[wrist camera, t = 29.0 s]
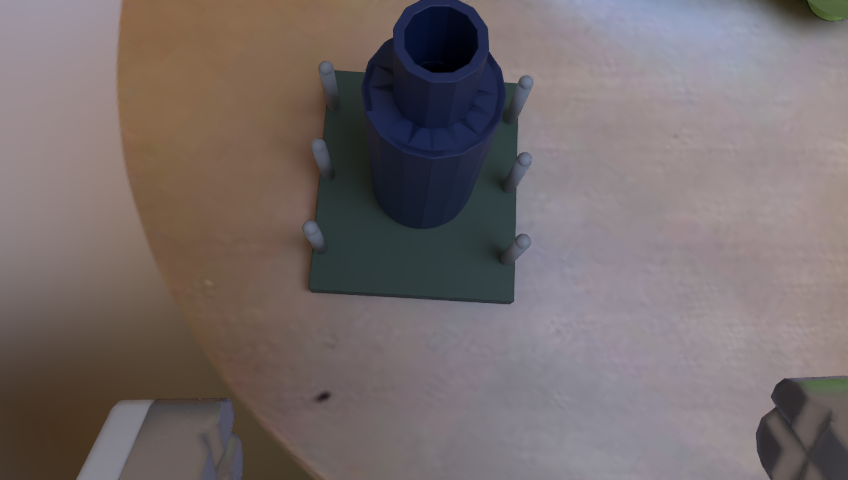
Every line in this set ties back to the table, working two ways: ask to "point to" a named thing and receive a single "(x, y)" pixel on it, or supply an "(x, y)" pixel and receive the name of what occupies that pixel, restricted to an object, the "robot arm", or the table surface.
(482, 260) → the rack
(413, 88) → the bottle
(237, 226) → the table surface
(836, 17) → the teapot
